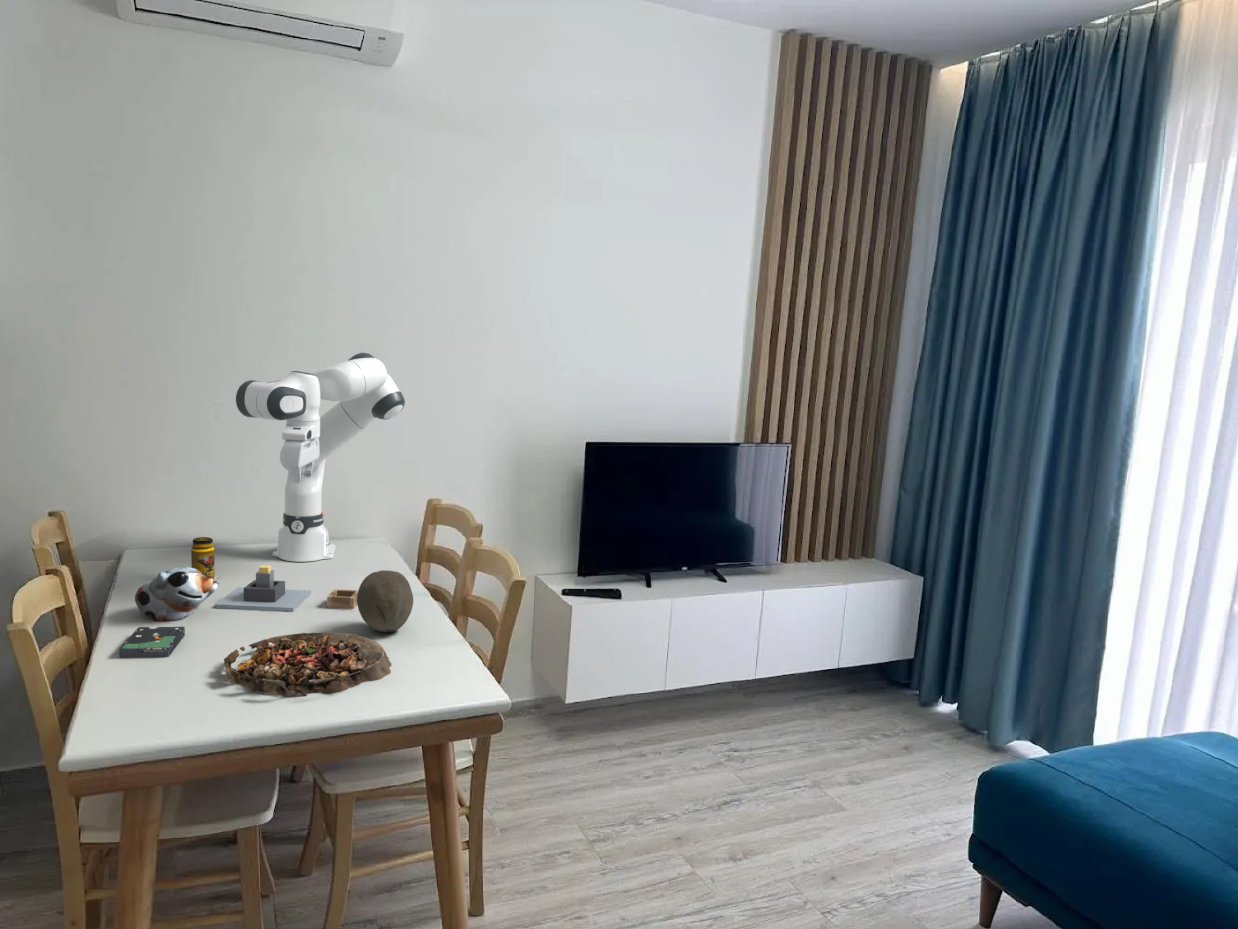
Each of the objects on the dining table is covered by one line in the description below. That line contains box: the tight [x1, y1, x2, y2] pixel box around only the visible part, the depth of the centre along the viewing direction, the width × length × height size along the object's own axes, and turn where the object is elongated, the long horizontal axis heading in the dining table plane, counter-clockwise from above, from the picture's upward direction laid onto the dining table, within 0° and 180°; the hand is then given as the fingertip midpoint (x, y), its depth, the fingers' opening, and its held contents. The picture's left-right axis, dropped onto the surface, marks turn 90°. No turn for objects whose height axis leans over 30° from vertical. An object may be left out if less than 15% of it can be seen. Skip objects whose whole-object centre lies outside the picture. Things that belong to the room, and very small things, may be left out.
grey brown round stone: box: [357, 569, 414, 633], centre depth 232 cm, size 14×14×15 cm
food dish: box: [223, 631, 393, 698], centre depth 204 cm, size 35×33×8 cm
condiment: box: [190, 536, 219, 580], centre depth 265 cm, size 7×8×12 cm
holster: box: [326, 588, 359, 610], centre depth 251 cm, size 7×7×3 cm
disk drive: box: [118, 626, 186, 659], centre depth 213 cm, size 10×3×15 cm
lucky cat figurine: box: [134, 566, 220, 622], centre depth 234 cm, size 17×14×16 cm
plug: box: [255, 564, 275, 588], centre depth 249 cm, size 4×4×8 cm
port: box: [214, 579, 312, 613], centre depth 250 cm, size 16×20×4 cm
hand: (302, 479), depth 258 cm, fingers open, 8 cm apart
